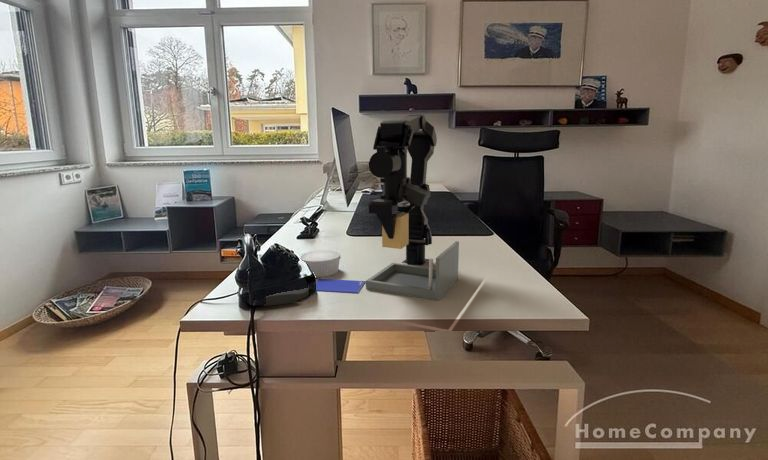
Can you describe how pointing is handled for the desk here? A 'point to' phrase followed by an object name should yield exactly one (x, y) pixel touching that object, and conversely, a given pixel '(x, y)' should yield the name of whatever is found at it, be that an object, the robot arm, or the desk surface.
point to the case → (419, 276)
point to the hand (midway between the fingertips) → (395, 236)
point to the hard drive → (339, 286)
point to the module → (398, 233)
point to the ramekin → (322, 262)
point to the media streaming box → (286, 297)
